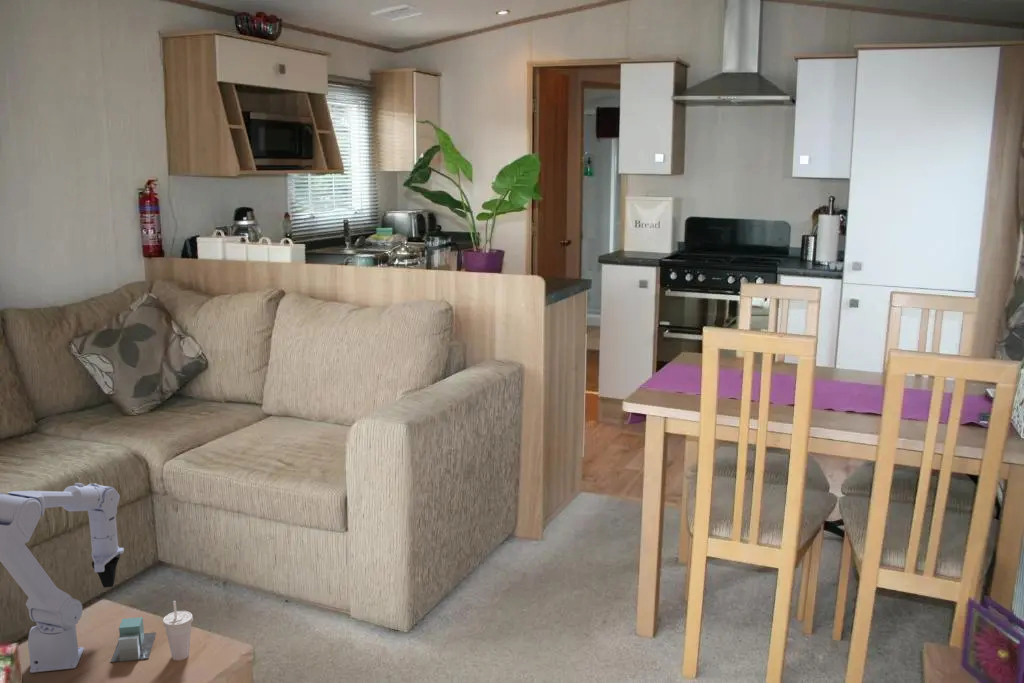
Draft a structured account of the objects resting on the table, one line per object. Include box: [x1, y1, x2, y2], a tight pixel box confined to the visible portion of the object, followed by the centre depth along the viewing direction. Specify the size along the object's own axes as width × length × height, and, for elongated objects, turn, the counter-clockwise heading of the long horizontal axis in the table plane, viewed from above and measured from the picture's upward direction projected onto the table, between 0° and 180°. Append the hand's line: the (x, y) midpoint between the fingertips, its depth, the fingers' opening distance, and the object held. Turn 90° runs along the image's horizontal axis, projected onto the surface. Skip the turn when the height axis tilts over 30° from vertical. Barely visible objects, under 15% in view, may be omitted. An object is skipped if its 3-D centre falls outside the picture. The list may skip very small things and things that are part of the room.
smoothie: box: [162, 600, 194, 661], centre depth 203 cm, size 6×6×14 cm
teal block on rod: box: [118, 616, 145, 646], centre depth 205 cm, size 4×4×5 cm
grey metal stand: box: [110, 631, 157, 663], centre depth 207 cm, size 8×11×6 cm
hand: (108, 586), depth 214 cm, fingers closed
